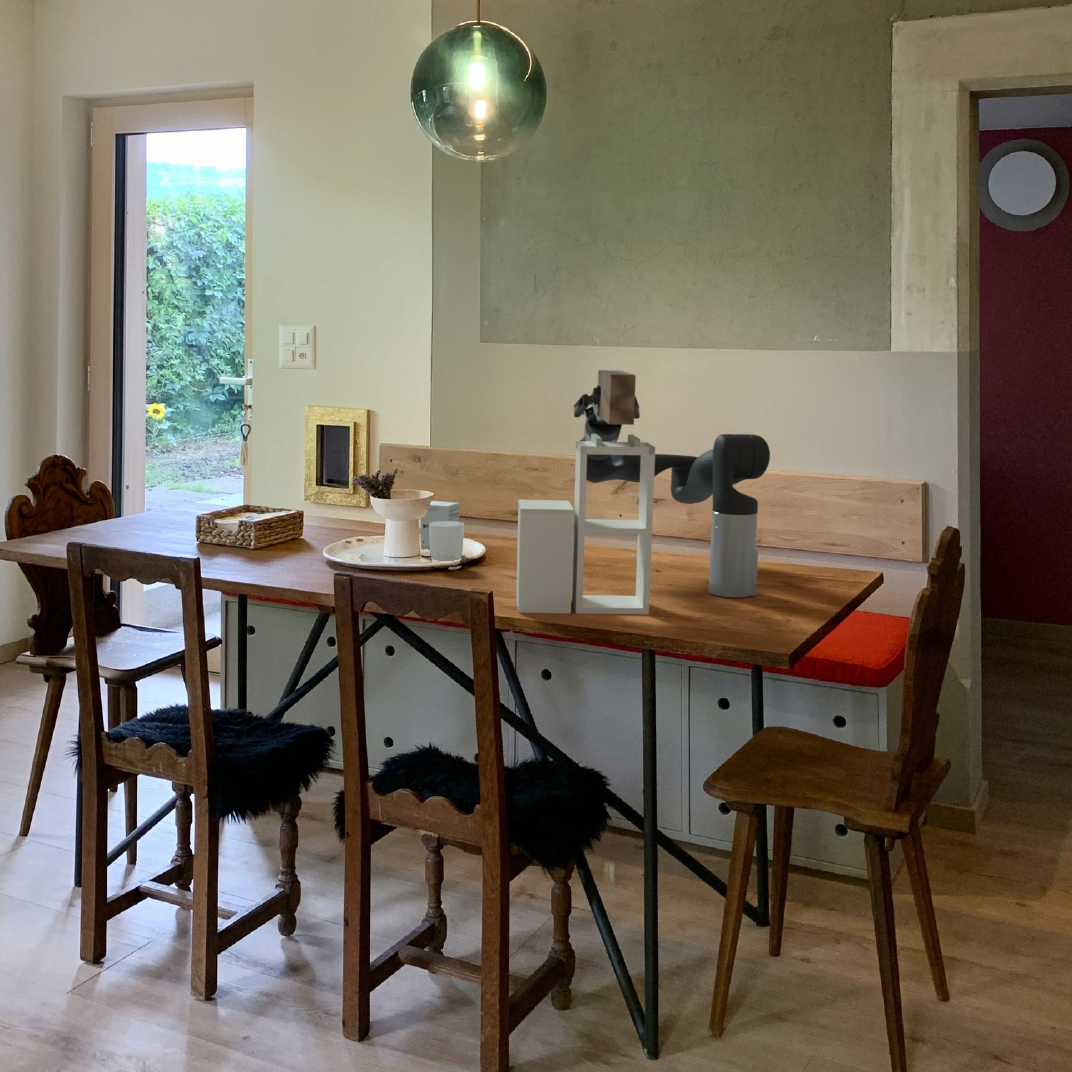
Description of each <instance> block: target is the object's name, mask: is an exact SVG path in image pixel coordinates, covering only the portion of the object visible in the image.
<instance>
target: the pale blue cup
mask: <svg viewBox="0 0 1072 1072" xmlns="http://www.w3.org/2000/svg"><path fill="white" fill-rule="evenodd" d="M429 534H430V555H431V557H430V559H433V560H438V561H454V560H459V559H461V560H462V556H463V550H464V549H463V548H464V534H465V523H464V522H460V521H459V522H454V521H437V522H431V523H429ZM461 567H462V565H461V566H457V567H449V568H448V569H449V570H451V571H452V570H458V569H461Z"/></svg>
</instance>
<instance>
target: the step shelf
mask: <svg viewBox="0 0 1072 1072" xmlns="http://www.w3.org/2000/svg"><path fill="white" fill-rule="evenodd" d="M587 454H600V455H641V462H640V482H639V491H638V492H639V493H638V496H639V497H638V518H637V519H607V518H606V519H604V518H603V519H602V518H601V519H599V518H597V519H596V518H595V519H594V518H593V519H591V518H586V505H587V504H586V503H587V501H586V499H587V498H586V497H587V480H586V470H587ZM655 454H656V447H655V446H654V445H652V444H651V443H649V442H645V441H641V438H639V437H637V436H636V435H635V434H632V433H631V434H627V441H617V442H602V438H601V437H599V436H598V435H597V434H591V441H580V440H576V441H575V469H574V470H575V471H574V475H575V476H574V505H572V504H571V502H570V501H569V500H560V499H559V500H558V499H518V501H517V502H518V504H517V508H518V509H517V544H516V545H517V548H516V550H517V551H516V552H517V553H516V555H517V556H516V558H517V560H516V605H517V612H518V614H571V612H572V607H573V609H574V612H575V614H577V615H578V614H581V615H584V614H585V615H586V614H587V615H588V614H589V615H590V614H591V615H595V614H596V615H597V614H598V615H650V593H651V591H650V590H651V571H652V570H651V568H652V567H651V566H652V545H653V543H652V542H653V521H654V520H653V518H654V517H653V516H654V497H655V495H654V490H655V489H654V488H655V477H654V470H655ZM573 507H574V508H573ZM586 535H616V536H617V535H619V536H620V535H624V536H625V535H627V536H630V535H631V536H632V535H633V536H636V535H637V542H636V544H637V546H636V549H637V550H636V573H635V574H636V575H635V578H636V579H635V595H599V594H598V595H591V594H590V595H587V594H583V593H584V570H585V566H584V565H585V536H586ZM572 605H573V606H572Z"/></svg>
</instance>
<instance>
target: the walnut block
mask: <svg viewBox="0 0 1072 1072" xmlns="http://www.w3.org/2000/svg"><path fill="white" fill-rule="evenodd" d="M597 371H598V372H597V385H600V386H601V396H600V400H599V403H598V412H597V415H598V416H599V417H600V418H602V419H603V420H604V421H606V422H607V423H608V424H622V425H627V426H628V425H632V426H634V425H635V418H634V406H635V396H636V380H637V379H636V375H637V374H633V373H630V372H627V371H624V370H615V369H614V370H611V369H610V370H609V369H608V370H607V369H599V370H597Z"/></svg>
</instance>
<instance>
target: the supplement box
mask: <svg viewBox="0 0 1072 1072" xmlns="http://www.w3.org/2000/svg"><path fill="white" fill-rule="evenodd" d="M430 501H431V503H430V505H429V509H428V512H427V514H426V516H424V517H422V518H421V517H420V542H421V549H423V550H424V549H425V550H426V549H428V550H430V534H429V523H431V522H437V521H454V522H460V502H450V501H440V500H439V501H438V500H430Z"/></svg>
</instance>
